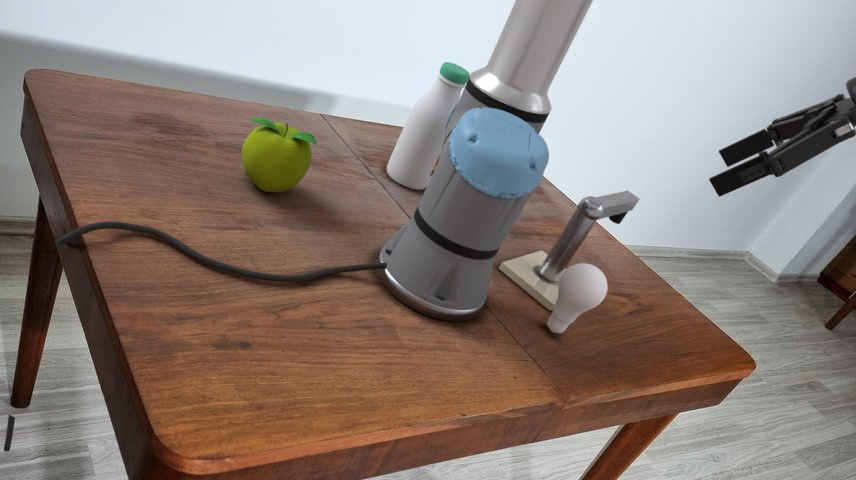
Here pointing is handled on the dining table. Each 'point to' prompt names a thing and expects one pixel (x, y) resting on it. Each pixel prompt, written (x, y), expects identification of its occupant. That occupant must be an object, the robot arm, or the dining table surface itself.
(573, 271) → the lightbulb
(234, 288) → the dining table surface
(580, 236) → the spout
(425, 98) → the milk bottle
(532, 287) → the faucet stand
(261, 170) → the fruit
